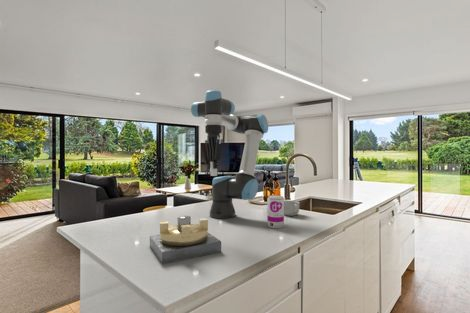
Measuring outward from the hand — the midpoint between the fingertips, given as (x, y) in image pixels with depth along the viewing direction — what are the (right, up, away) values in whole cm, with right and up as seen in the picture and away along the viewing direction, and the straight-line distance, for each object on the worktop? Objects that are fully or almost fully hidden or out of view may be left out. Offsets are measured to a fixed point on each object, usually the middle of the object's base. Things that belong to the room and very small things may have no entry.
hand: (213, 175), depth 125 cm
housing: (-10, -27, -21) cm, 35 cm away
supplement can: (+30, -26, +10) cm, 41 cm away
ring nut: (-10, -23, -21) cm, 33 cm away
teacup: (+43, -26, +33) cm, 60 cm away
